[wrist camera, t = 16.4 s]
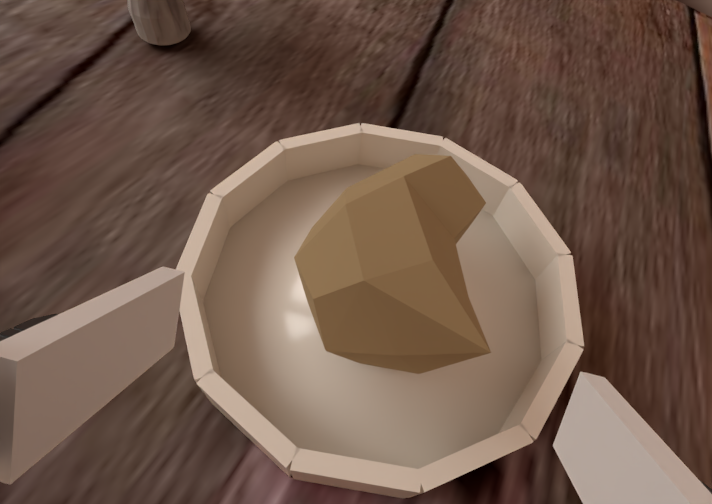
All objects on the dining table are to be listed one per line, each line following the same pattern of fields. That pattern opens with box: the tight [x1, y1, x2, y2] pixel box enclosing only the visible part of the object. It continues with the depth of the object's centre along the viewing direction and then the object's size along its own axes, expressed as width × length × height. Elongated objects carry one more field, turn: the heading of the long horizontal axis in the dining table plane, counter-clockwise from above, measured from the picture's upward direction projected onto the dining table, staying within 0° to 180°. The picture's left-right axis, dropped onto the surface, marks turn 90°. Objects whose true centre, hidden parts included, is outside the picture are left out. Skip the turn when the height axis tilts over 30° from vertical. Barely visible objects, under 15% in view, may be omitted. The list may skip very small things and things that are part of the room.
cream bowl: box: [176, 123, 584, 499], centre depth 29 cm, size 24×24×4 cm
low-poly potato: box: [294, 154, 491, 374], centre depth 26 cm, size 15×11×12 cm
